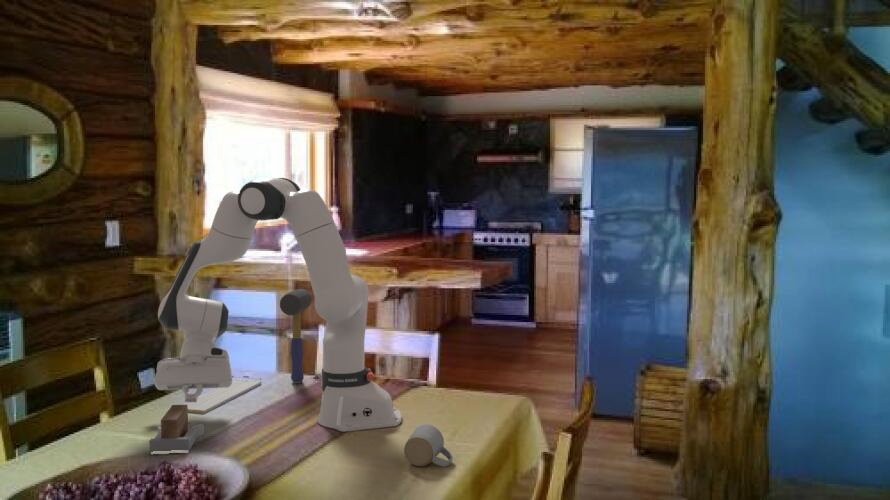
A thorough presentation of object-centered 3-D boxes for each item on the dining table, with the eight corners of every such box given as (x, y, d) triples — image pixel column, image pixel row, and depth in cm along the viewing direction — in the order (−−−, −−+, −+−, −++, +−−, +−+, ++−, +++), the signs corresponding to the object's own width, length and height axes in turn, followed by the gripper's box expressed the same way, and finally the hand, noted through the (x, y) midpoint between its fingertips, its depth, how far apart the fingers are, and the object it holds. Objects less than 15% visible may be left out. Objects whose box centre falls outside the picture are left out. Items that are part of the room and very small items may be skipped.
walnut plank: (188, 435, 185) (187, 404, 184) (177, 452, 173) (176, 419, 172) (173, 435, 184) (172, 404, 183) (161, 452, 172) (160, 420, 172)
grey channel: (204, 433, 185) (204, 420, 185) (193, 453, 172) (193, 438, 172) (158, 435, 184) (158, 422, 184) (144, 455, 170) (143, 441, 170)
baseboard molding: (167, 412, 205) (204, 416, 202) (166, 402, 205) (204, 405, 201) (228, 383, 235) (261, 386, 231) (228, 374, 234) (261, 377, 231)
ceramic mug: (402, 466, 164) (402, 433, 163) (413, 453, 172) (413, 422, 171) (447, 472, 161) (447, 438, 161) (456, 458, 169) (457, 426, 168)
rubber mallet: (302, 388, 227) (300, 293, 224) (279, 387, 228) (277, 292, 225) (314, 377, 239) (313, 287, 236) (292, 377, 240) (291, 287, 237)
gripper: (156, 352, 200) (147, 397, 191) (232, 350, 203) (227, 394, 194) (160, 364, 205) (152, 408, 196) (235, 361, 208) (230, 405, 199)
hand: (190, 401), depth 195 cm, fingers closed
